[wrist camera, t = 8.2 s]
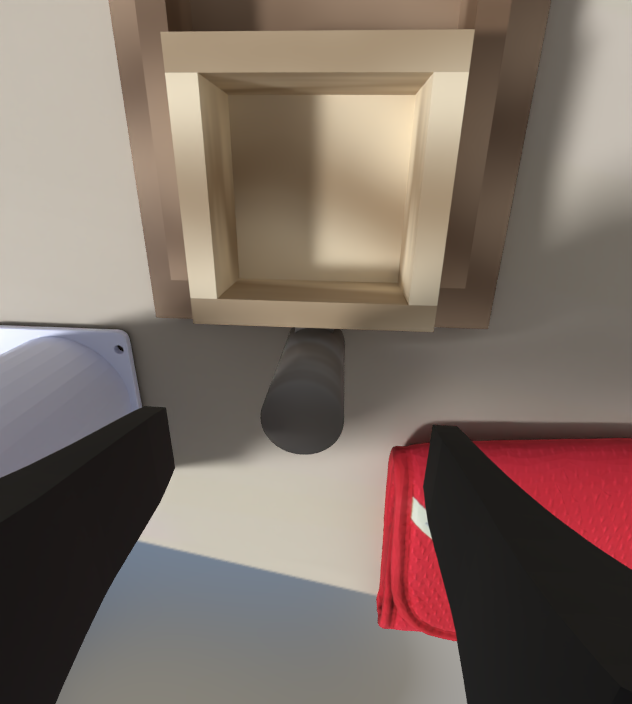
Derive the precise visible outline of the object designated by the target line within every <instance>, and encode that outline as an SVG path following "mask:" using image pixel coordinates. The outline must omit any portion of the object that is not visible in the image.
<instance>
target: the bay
mask: <svg viewBox="0 0 632 704" xmlns="http://www.w3.org/2000/svg"><path fill="white" fill-rule="evenodd" d="M550 4H551V0H109V7H110V14H111V20H112V27H113V34H114V40H115V47H116V53H117V60H118V67H119V73H120V80H121V87H122V93H123V100H124V106H125V113H126V120H127V126H128V133H129V140H130V146H131V153H132V159H133V166H134V173H135V179H136V186H137V193H138V199H139V206H140V213H141V219H142V226H143V232H144V239H145V246H146V252H147V259H148V266H149V272H150V279H151V285H152V292H153V299H154V305H155V312H156V317H158V318H187V319H193V316H192V307H191V298H190V290H189V281H188V272H187V263H186V254H185V246H184V237H183V228H182V219H181V210H180V201H179V193H178V184H177V175H176V166H175V157H174V149H173V140H172V131H171V122H170V113H169V104H168V96H167V87H166V78H165V69H164V60H163V52H162V43H161V34H160V32H195V31H322V30H449V29H475V32H474V40H473V47H472V54H471V62H470V69H469V76H468V84H467V91H466V98H465V106H464V113H463V120H462V128H461V135H460V142H459V150H458V157H457V164H456V172H455V179H454V186H453V194H452V201H451V208H450V216H449V223H448V230H447V238H446V245H445V252H444V260H443V267H442V274H441V282H440V289H439V296H438V303H437V311H436V318H435V325H434V327H446V328H474V329H488V326H489V321H490V315H491V310H492V305H493V300H494V295H495V289H496V284H497V279H498V274H499V269H500V263H501V258H502V253H503V248H504V243H505V237H506V232H507V227H508V222H509V217H510V211H511V206H512V201H513V196H514V191H515V185H516V180H517V175H518V170H519V165H520V159H521V154H522V149H523V144H524V139H525V133H526V128H527V123H528V118H529V113H530V107H531V102H532V97H533V92H534V87H535V81H536V76H537V71H538V66H539V61H540V56H541V50H542V45H543V40H544V35H545V30H546V24H547V19H548V14H549V9H550Z"/></svg>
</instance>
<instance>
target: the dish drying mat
mask: <svg viewBox="0 0 632 704" xmlns="http://www.w3.org/2000/svg"><path fill="white" fill-rule="evenodd" d="M472 442H473V443H474V444H475V445H476V446H477V447H478V448H479V449H480V450H481V451H482V452H483V453H484V454H485V455H486V456H487V457H488V458H489V459H490V460H491V461H493V462H494V463H495V464H496V465H497V466H498V467H499V468H500V469H501V470H502V471H503V472H504V473H505V474H506V475H507V476H508V477H509V478H511V479H512V480H513V481H514V482H515V483H516V484H517V485H518V486H520V487H521V488H522V489H523V490H524V491H525V492H526V493H528V494H529V495H530V496H531V497H532V498H534V499H535V500H536V501H537V502H538V503H539V504H541V505H542V506H543V507H544V508H545V509H547V510H548V511H549V512H550V513H552V514H553V515H554V516H556V517H557V518H558V519H559V520H561V521H562V522H563V523H565V524H566V525H567V526H569V527H570V528H572V529H573V530H574V531H576V532H577V533H578V534H580V535H581V536H582V537H584V538H585V539H586V540H588V541H589V542H591V543H592V544H594V545H595V546H596V547H598V548H599V549H601V550H602V551H604V552H605V553H607V554H608V555H610V556H611V557H613V558H614V559H616V560H618V561H619V562H621V563H622V564H624V565H625V566H627V567H628V568H630V569H632V438H603V439H542V440H492V441H472ZM429 446H430V443H422V444H414V445H410V446H395V447H393V448H392V450H391V453H390V457H389V462H388V475H387V485H386V498H385V512H384V529H383V545H382V560H381V574H380V587H379V592H378V595H377V599H376V600H377V612H378V624H379V626H380V627H382V628H384V629H396V630H404V631H420V632H423V633H425V634H427V635H431V636H435V637H438V638H442V639H447V640H452V641H457V637H456V632H455V627H454V623H453V618H452V614H451V609H450V605H449V602H448V598H447V594H446V590H445V587H444V583H443V579H442V575H441V572H440V568H439V564H438V560H437V556H436V553H435V549H434V545H433V541H432V537H431V533H430V529H429V525H428V521H427V514H426V507H425V499H424V491H423V483H424V477H425V471H426V464H427V458H428V452H429Z"/></svg>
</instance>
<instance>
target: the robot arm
mask: <svg viewBox="0 0 632 704" xmlns="http://www.w3.org/2000/svg"><path fill="white" fill-rule="evenodd" d="M118 345H120V346H121V347H123V349H124V351H121V350H120V349H119V348H118ZM174 469H175V465H174V458H173V452H172V445H171V438H170V432H169V425H168V419H167V412H166V408H163V407H147V406H144V407H142V404H141V398H140V393H139V387H138V382H137V376H136V371H135V365H134V360H133V354H132V349H131V343H130V338H129V336H128V334H127V333H126V332H124V331H123V330H118V329H91V328H64V327H36V326H9V325H0V704H55V703H56V701H57V699H58V696H59V694H60V692H61V689H62V687H63V684H64V682H65V680H66V678H67V676H68V673H69V671H70V669H71V667H72V665H73V662H74V660H75V658H76V656H77V653H78V651H79V649H80V647H81V645H82V642H83V640H84V638H85V636H86V634H87V632H88V630H89V628H90V626H91V623H92V621H93V619H94V617H95V615H96V613H97V611H98V609H99V607H100V605H101V603H102V601H103V598H104V597H105V595H106V593H107V591H108V589H109V587H110V586H111V584H112V582H113V580H114V578H115V577H116V575H117V573H118V572H119V570H120V568H121V567H122V565H123V563H124V562H125V560H126V558H127V556H128V555H129V553H130V552H131V550H132V548H133V547H134V545H135V544H136V542H137V540H138V539H139V537H140V535H141V534H142V532H143V530H144V529H145V527H146V525H147V524H148V522H149V520H150V519H151V517H152V515H153V513H154V512H155V510H156V508H157V507H158V505H159V503H160V501H161V499H162V497H163V495H164V493H165V490H166V488H167V486H168V484H169V481H170V479H171V476H172V474H173V471H174ZM423 491H424V499H425V507H426V514H427V521H428V525H429V529H430V533H431V537H432V541H433V545H434V549H435V553H436V556H437V560H438V564H439V568H440V572H441V575H442V579H443V583H444V587H445V590H446V594H447V598H448V602H449V605H450V609H451V614H452V618H453V623H454V627H455V632H456V637H457V643H458V649H459V655H460V661H461V667H462V673H463V679H464V685H465V692H466V698H467V704H632V569H630V568H628V567H627V566H625V565H624V564H622V563H621V562H619V561H618V560H616V559H614V558H613V557H611V556H610V555H608V554H607V553H605V552H604V551H602V550H601V549H599V548H598V547H596V546H595V545H594V544H592V543H591V542H589V541H588V540H586V539H585V538H584V537H582V536H581V535H580V534H578V533H577V532H576V531H574V530H573V529H572V528H570V527H569V526H567V525H566V524H565V523H563V522H562V521H561V520H559V519H558V518H557V517H556V516H554V515H553V514H552V513H550V512H549V511H548V510H547V509H545V508H544V507H543V506H542V505H541V504H539V503H538V502H537V501H536V500H535V499H534V498H532V497H531V496H530V495H529V494H528V493H526V492H525V491H524V490H523V489H522V488H521V487H520V486H518V485H517V484H516V483H515V482H514V481H513V480H512V479H511V478H509V477H508V476H507V475H506V474H505V473H504V472H503V471H502V470H501V469H500V468H499V467H498V466H497V465H496V464H495V463H494V462H493V461H491V460H490V459H489V458H488V457H487V456H486V455H485V454H484V453H483V452H482V451H481V450H480V449H479V448H478V447H477V446H476V445H475V444H474V443H473V442H472V441H471V440H470V439H469V438H468V437H467V436H466V435H465V434H464V433H463V432H462V431H461V430H460V429H459V428H458V427H457V426H442V425H433V427H432V433H431V440H430V446H429V452H428V458H427V464H426V471H425V477H424V483H423Z"/></svg>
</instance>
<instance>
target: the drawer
mask: <svg viewBox="0 0 632 704" xmlns="http://www.w3.org/2000/svg"><path fill="white" fill-rule="evenodd" d="M474 32H475V29H449V30H322V31H195V32H160V34H161V43H162V52H163V60H164V69H165V78H166V87H167V96H168V104H169V113H170V122H171V131H172V140H173V149H174V157H175V166H176V175H177V184H178V193H179V201H180V210H181V219H182V228H183V237H184V246H185V254H186V263H187V272H188V281H189V290H190V298H191V307H192V316H193V324H216V325H244V326H273V327H293V328H292V329H291V331H290V333H289V336H288V339H287V342H286V344H285V347H284V350H283V352H282V355H281V358H280V360H279V363H278V366H277V369H276V371H275V374H274V377H273V379H272V382H271V385H270V387H269V390H268V393H267V396H266V398H265V401H264V404H263V406H262V410H261V424H262V427H263V430H264V432H265V434H266V435H267V437H268V438H269V439H270V440H271V441H272V442H273V443H274V444H275V445H276V446H278V447H280V448H281V449H283V450H285V451H288V452H291V453H295V454H314V453H318V452H321V451H323V450H325V449H327V448H329V447H330V446H332V445H333V444H334V443H335V442H336V441H337V439H338V438H339V436H340V434H341V432H342V429H343V424H344V350H345V341H344V336H343V333H342V331H341V329H357V330H385V331H413V332H434V325H435V318H436V311H437V303H438V296H439V289H440V282H441V274H442V267H443V260H444V252H445V245H446V238H447V230H448V223H449V216H450V208H451V201H452V194H453V186H454V179H455V172H456V164H457V157H458V150H459V142H460V135H461V128H462V120H463V113H464V106H465V98H466V91H467V84H468V76H469V69H470V62H471V54H472V47H473V40H474Z"/></svg>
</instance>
